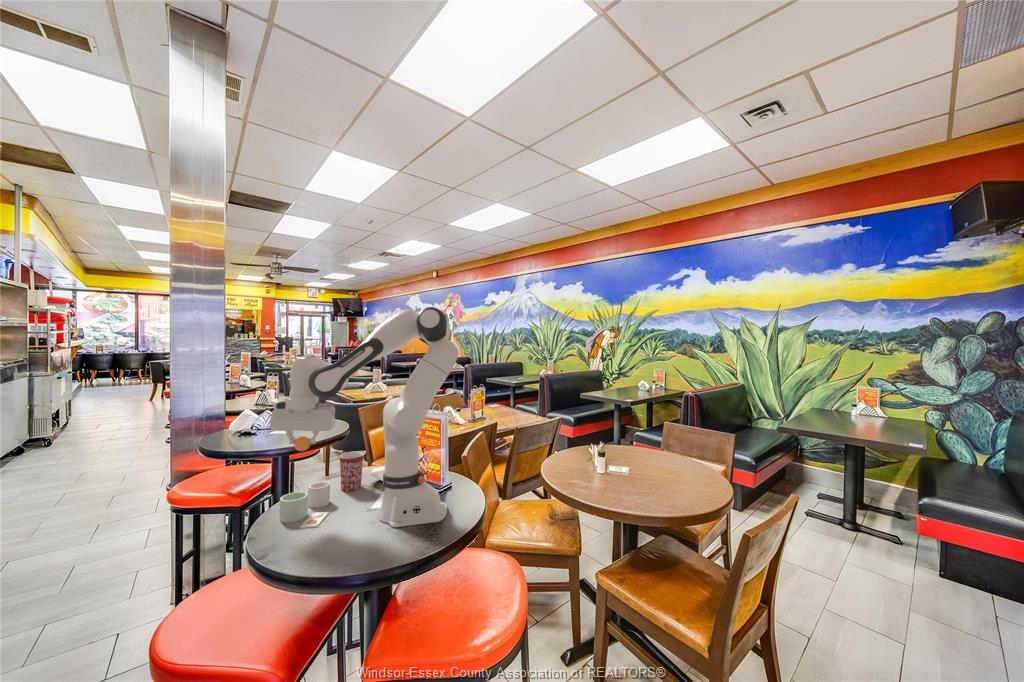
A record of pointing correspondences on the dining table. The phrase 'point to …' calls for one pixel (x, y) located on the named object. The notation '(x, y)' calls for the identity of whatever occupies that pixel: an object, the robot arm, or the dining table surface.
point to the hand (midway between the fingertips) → (302, 443)
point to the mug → (351, 471)
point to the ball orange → (302, 443)
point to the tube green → (293, 507)
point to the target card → (314, 520)
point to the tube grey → (318, 494)
